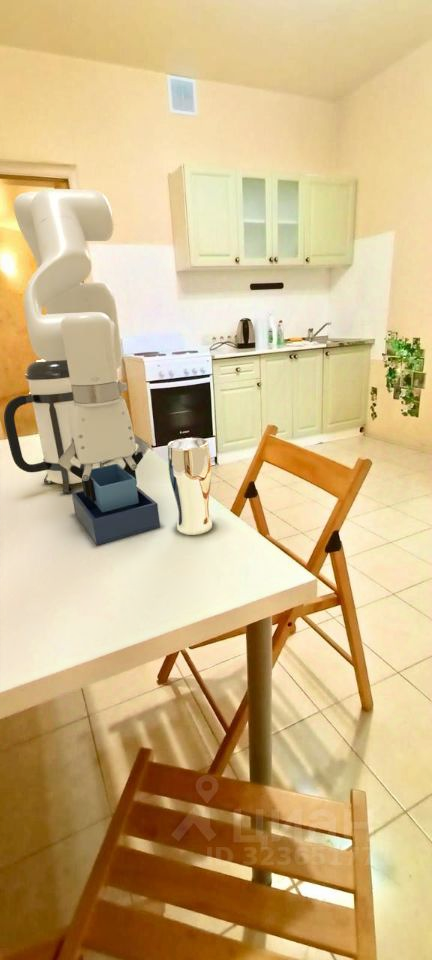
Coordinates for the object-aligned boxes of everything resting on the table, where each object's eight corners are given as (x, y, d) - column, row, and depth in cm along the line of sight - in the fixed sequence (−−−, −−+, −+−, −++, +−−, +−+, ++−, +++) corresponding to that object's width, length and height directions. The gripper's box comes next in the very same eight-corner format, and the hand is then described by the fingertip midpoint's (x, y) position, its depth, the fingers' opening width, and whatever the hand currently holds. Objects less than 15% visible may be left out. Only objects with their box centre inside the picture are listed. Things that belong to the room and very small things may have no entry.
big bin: (75, 514, 85) (71, 492, 83) (131, 500, 90) (128, 479, 88) (96, 545, 73) (92, 520, 71) (160, 527, 78) (157, 503, 76)
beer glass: (168, 524, 78) (159, 442, 73) (204, 515, 81) (198, 435, 76) (184, 540, 73) (176, 452, 67) (222, 529, 76) (217, 444, 70)
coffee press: (56, 471, 110) (31, 344, 100) (119, 470, 108) (100, 340, 98) (19, 499, 94) (-15, 351, 83) (92, 498, 92) (66, 347, 81)
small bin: (86, 493, 83) (82, 470, 81) (120, 485, 86) (117, 463, 84) (102, 512, 75) (98, 487, 73) (138, 503, 78) (136, 479, 76)
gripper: (138, 384, 80) (149, 477, 87) (37, 398, 73) (57, 499, 79) (154, 389, 74) (164, 489, 81) (46, 404, 66) (67, 514, 73)
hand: (111, 493), depth 80 cm, fingers closed on small bin, 6 cm apart
